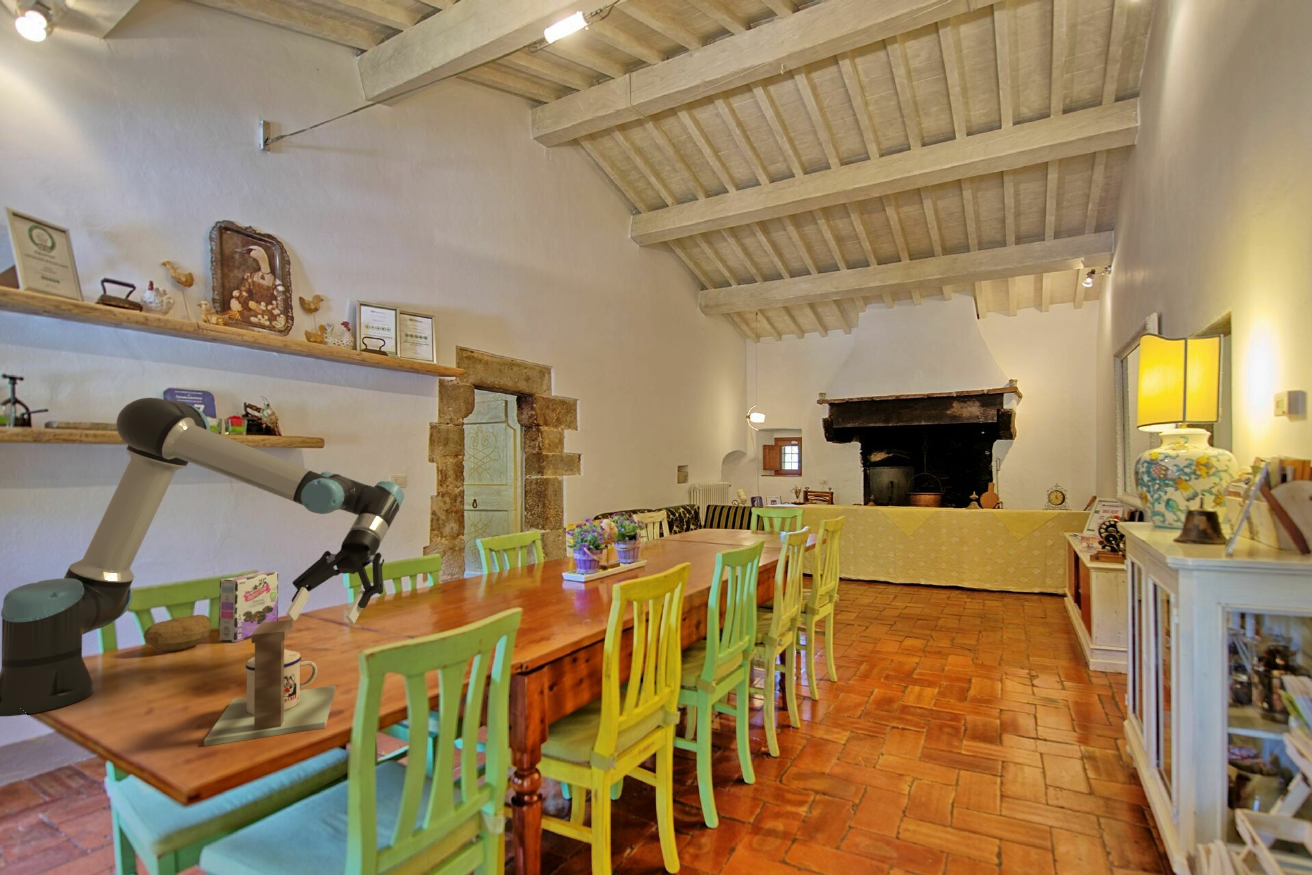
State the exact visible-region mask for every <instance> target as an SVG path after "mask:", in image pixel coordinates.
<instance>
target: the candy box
mask: <svg viewBox="0 0 1312 875" xmlns="http://www.w3.org/2000/svg"><path fill="white" fill-rule="evenodd" d="M218 599H219V603H218V604H219V608H218V610H219V611H218V612H219V613H218V641H219V642H226V643H238V642H241V641H243V640H247V639H252V634H253V632H254V631H255V630H256V629H257V628H258V627H259V625H260V624H261V623H262V622H272V621H279V572H278V571H264V570H263V571H259V572H255V573H248V574H244V575H239V576H235V577H229V578H223V579H222V578H221V579H219V598H218Z"/></svg>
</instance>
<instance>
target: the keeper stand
mask: <svg viewBox="0 0 1312 875" xmlns="http://www.w3.org/2000/svg"><path fill="white" fill-rule="evenodd" d="M293 622H294V621H293V620H291V619H285V620H278V621H272V622H262V623H261V624H260V625H259V627H258V628H257V629H256V630H255V631H254V632H253V634H252V637H251V644H254V657H255V695H254V714H250V713H248V712H247V696H245V697H239V698H238V697H236V698H232V700H231V701H230V703H229V705H228V706H227V707H226V709H225V710H224V712H223V713H222V714H221V716H220V717H219V719H218V720H217V722H216V723H215V724H214V725H213V727H212V728H211V729H210V732H209V733H208V734H207V735H206V737H205V739H204V740H203V743H204V744H203V746H204V747H208V746H215V745H221V744H223V745H224V744H228V743H234V742H241V741H247V740H255V739H254V738H256V739H261V738H269V737H274V736H280V735H281V736H282V735H289V734H293V733H300V732H307V731H314V730H321V729H325V728H326V726H327V722H328V719H329V715H330V712H331V707H332V705H333V700H334V697H335V695H336V694H335V693H336V687H337V686H336V685H329V686H322V687H321V686H320V687H314V688H308V689H307V688H306V689H300V700H299V703H298V704H297V705H296V706H294V707H292V708H290V709H288V710H285V711H284V649H285V640H286V638H287V637H288V636H289V634H290V633H291V631H292V629H293V625H294V624H293Z"/></svg>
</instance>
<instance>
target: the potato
mask: <svg viewBox="0 0 1312 875" xmlns="http://www.w3.org/2000/svg"><path fill="white" fill-rule="evenodd" d="M211 623H212V621H211V618H210V617H209V616H207V615H205V614H196V615H188V616H179V617H178V616H177V617H174V618H171V619H168V620H163V621H159V622H155V623H154V624H152V625H151V626H148V627H147V628H146V630H145V631H144V634H143V638H144V639H143V640H144V641H145V643H146V644H147V645H150V646H151V647H152V648H154V649H156V650H159V651H160V652H166V653H167V652H177V651H183V650H186V649H189V648H190V647H193V646H196V645H198V644H200V643H201V642H203V641H205V640H206V639H207V637H208V636H209V634H210V632H211V629H212V625H211Z"/></svg>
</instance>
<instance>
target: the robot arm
mask: <svg viewBox="0 0 1312 875" xmlns="http://www.w3.org/2000/svg"><path fill="white" fill-rule="evenodd" d="M116 430H117V433H118V435H119V437H120V438H121V440H122V441H123V442H125V444H126V445H127V446H126V449H125V450H126V451H127V454H128V455H129V456H130V460H129V462H128V464H127V465H126V468H125V470H124V472H123V475H122V476H121V479H120V481H119V483H118V485H117V487H116V489H115V491H114V493H113V496H112V497H111V499H110V502H109V504H108V506H107V508H106V510H105V512H104V514H103V516H102V518H101V520H100V523H99V524H98V526H97V529H96V531H95V533H94V535H93V537H92V539H91V541H90V542H89V545H88V548H87V549H86V551H85V553H84V555H83V558H82V559H80V560H78V561H76V562H74V563H71V564H70V565H69V567H68V569H67V571H66V573H65V575H64V577H63V578H54V579H45V580H41V581H37V582H31V583H30V582H29V583H26V584H23V585H19V586H18V587H16V588H13V589H11V590H10V591H7V593H6V594H5V595H4V598H3V602H2V608H1V611H0V616H1V669H0V717H18V716H25V715H27V714H26V713H29V714H28V715H32V714H36V713H37V714H38V713H43V712H47V711H50V710H55V709H59V708H63V707H66V706H69V705H72V704H75V703H78V702H80V701H82V700H84V699H87V698H88V697H90V696H91V695H92V694H93V689H94V687H93V684H94V683H93V682H94V680H93V679H92V677H91V675H90V672H89V670H88V667H87V666H86V663H85V661H84V660H85V659H84V658H83V635H85V634H87V633H90V632H93V631H96V630H99V629H101V628H104V627H107V626H109V625H110V624H112V623H113V622H115V621H116V620H118V619H119V618H121V617H122V616H123V615H124V614H125V613H126V612H127V610H129V608H130V607H131V605H132V602H133V596H134V589H133V588H132V587H131V585H132V583H133V581H134V579H135V574H134V573H133V571H132V570H131V567H132V564H133V562H134V561H135V558H136V556H137V554H138V552H139V549H140V548H141V545H142V544H143V541H144V539H145V537H146V536H147V533H148V530H149V528H150V527H151V525H152V524H151V523H152V522H153V520H154V518H155V515H156V514H157V512H158V509H159V507H160V505H161V503H162V501H163V498H164V496H165V494H166V492H167V490H168V488H169V486H170V484H171V482H172V480H173V477H174V475H175V473H176V472H177V471H179V470H180V469H183V468H186V467H187V466H188V464H189V463H191V464H194V465H196V466H199V467H202V468H204V469H207V470H209V471H211V472H215V473H216V474H220V475H222V476H225V477H228V478H230V479H233V480H236V481H239V482H241V483H244V484H247V485H250V486H252V487H254V488H257V489H260V490H261V491H262V490H263V491H264V492H268V493H271V494H273V495H276V496H278V497H281V498H284V499H286V500H289V501H292V502H294V503H296V504H298V505H301V506H304V508H305V509H306V510H308V511H309V512H311V513H313V514H320V515H325V514H330V513H333V512H335V511H338V510H341V511H345V512H346V513H347V512H348V513H351V514H353V515H357V517H356V518H355V520H354V522H353V524H352V525H351V527H350V529H349V531H348V532H347V533H346V536H345V537H344V539H343V540H342V542H341V547H340V550H339V551H338V552H337V553H331V552H330V550H326V551H324V553H323V554H322V556H321V557H320V558H319V559H318V560H317V561H315V562H314V563H313V564H312V565H310V567H308V568H307V569H306V570H305V571H304V572H303V573H301V574H300V575H299V576H298V577H297V578H296V579H294V580H293V581H292V582H291V583H292V585H293V586H294V587H295V589H296V592H295V593H294V595H293V596H292V598H291V604H290V606H289V608H288V609H287V611H286V613H285V615H286V616H287V617H288V618H289V620H293V622H295V621H297V618H298V617H299V615H300V613H301V612H302V610H303V608H304V606H305V604H306V603H307V601H308V600H309V598H310V597H311V593H310V592H311V591H312V590H314V589H316V588H317V587H319V586H320V585H322V584H323V583H325V582H326V581H328V580H329V579H331V578H333V577H335V576H339V575H340V574H342V575H343V574H344V575H345V574H350V575H356V574H357V573H358V574H357V575H358V576H359V579H360V582H361V585H362V586H363V589H359V590H358V592H357V594H356V596H355V598H354V599H353V602H352V604H351V606H350V607H349V610H348V611H347V613H346V616H345V618H346V619H347V621H348V622H349V623H350V624H353V625H354V624H355V623H356V622H357V620H358V617H359V615H360V614H361V611H362V610H363V609H365V608H366V607H367V606H368V604H369V602H370V600H371V598H372V597H373V596H374V595H376V594H378V595H381V594H383V593H384V582H383V581H384V580H383V579H384V578H383V565H384V563H385V559H384V557H383V555H382V554H381V552H378V550H379V548H380V546H381V544H382V542H383V540H384V538H385V536H386V534H387V533H388V530H389V529H390V527H391V525H392V523H393V521H394V519H395V517H396V516H397V514H398V512H399V510H400V507H401V505H402V503H403V501H404V499H405V493H404V490H403V489H402V487H401V486H399V485H398V484H397V483H395V482H393V481H391V480H390V481H389V480H388V481H385V480H381V481H379V482H377V483H376V484H375V485H374V486H373V485H368V484H365V483H363V482H360V481H356V480H353V479H351V478H348V477H346V476H343V475H341V474H339V473H333V472H330V471H323V472H321V473H317V472H315V471H313V470H310V469H308V468H305V467H302V466H299V465H297V464H296V463H292V462H289V461H287V460H285V459H283V458H279V457H277V456H274V455H272V454H269V453H267V452H265V451H261V450H259V449H256V448H254V447H252V446H249V445H246V444H244V443H242V442H239V441H236V440H234V439H232V438H229V437H226V436H224V435H221V434H219V433H217V432H214V431H212V430H211V425H210V421H209V419H208V417H207V416H206V415H205V413H203V411H202V410H200V409H199V408H198V407H196V406H193V405H191V404H188V402H187V403H186V402H182V401H179V400H178V401H177V400H169V399H164V398H158V397H143V398H138V399H135V400H133V401H131V402H129V403H128V404H126V405H125V406H124V407H123V408H122V409H121V410H120V411H119V413H118V415H117V419H116ZM370 564H371V565H372V583H371V581H370V579H369V576H368V572H367V570H366V567H367V566H368V565H370ZM335 566H336V569H335ZM20 708H21V709H20ZM23 710H24V711H23ZM25 712H26V713H25Z"/></svg>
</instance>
